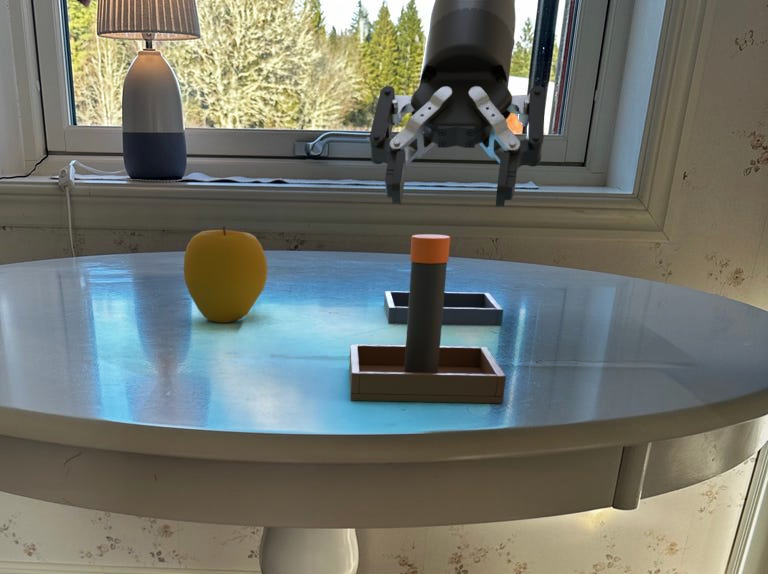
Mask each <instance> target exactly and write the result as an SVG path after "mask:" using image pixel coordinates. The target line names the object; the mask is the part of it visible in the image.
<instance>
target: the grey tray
mask: <svg viewBox="0 0 768 574" xmlns="http://www.w3.org/2000/svg"><path fill="white" fill-rule="evenodd" d="M408 306H409V291H402V290H401V291H399V290H398V291H396V290H392V291H390V290H385V291H384V298H383V307H384V312H385V316H386V320H387V324H388V325H407V321H408ZM503 317H504V309H503V307H502V306H501V305H500V304H499V302H498V301H497V300H496V299H495V298H494V297H493V295H491V293H489V292H467V291H466V292H461V291H460V292H459V291H458V292H457V291H444V304H443V316H442V326H488V327H489V326H491V327H492V326H497V327H499V326H500V327H501V326H502V325H503Z"/></svg>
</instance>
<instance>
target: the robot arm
mask: <svg viewBox="0 0 768 574" xmlns="http://www.w3.org/2000/svg"><path fill="white" fill-rule="evenodd" d="M516 17H517V16H516V0H434V2H433V5H432V7H431V11H430V14H429V20H428V26H427V32H426V38H425V45H424V51H423V57H422V58H423V59H422V65H421V71H420V78H419V84H418V86H417V88H416V89H415V91H414V92H413V93H412V95H405V94H404V95H403V94H395V93H396V92H395V88H394V87H393V86H392V85H386V86H383V87H381V89H380V92H379V96H378V100H377V104H376V108H375V113H374V118H373V121H372V125H371V129H370V133H369V147H370V159H371V162H372V163H373V164H374V165H381V164H383V163H385V164H386V171H385V177H384V186H385V195H386V198H391V201H392V202H391V204H392V205H402V201H403V195H404V188H405V184H406V183H405V182H406V176H407V166H408V165H409V164H410V163H411V162H412V161H413V160H415V159H416V158H422V157H423V156H424V155H425V154H426V153H427V152H428V151H429V150H430V149H432V148H433V147H434V145H437V148H439V149H440V148H441V149H442V148H443V149H444V148H445V149H447V148H451V147H460V148H465V149H467V148H468V149H475V148H476V145H480V147H481V148H482V149H483V150H484V152H485V153H486V154H487V156H488V157H489V158H490V159H495V160H496V161H497V163H498V164H499V169H498V176H497V177H498V178H497V186H496V196H495V207H498V208H499V207H500V208H504V207H505V204H506V203H505V202H506V201H512V199H513V198H514V196H515V192H516V191H515V190H516V183H517V182H516V181H517V173H518V170H519V168H520V167H522V166H524V165H527V166H529V167H537V166H539V165H540V164H541V161H542V150H543V149H542V148H543V144H544V134H545V133H544V132H545V103H546V101H545V100H546V90H545V87H543V86H541V85H535V86H532V87H531V89H530V90H529V94H517V95H512V93H511V91H510V89H509V81H510V73H511V66H512V65H511V64H512V56H513V51H514V47H515V43H516V42H515V32H516V21H517V19H516ZM407 114H411V116H410V117H409V119H408V120H407V122H406V125H405V127H404V128H403V129H402V130H400V131H399V132H398V133H397V134H396V135H395V136H394V137H393V138H392V137H391V136H392V132H393V128H394V127H397V126H399V124H400V123H399V122H401V121H402V120H403V117H404V116H405V115H407ZM511 114H514V115H516V117H517V120H518V121H519V122H520V124H521V126H522V127H526V138H525V139H522V140H519V138H518V137H517V136H516V134H514V132H512V130H511V129H510V127H509V125H508V121H507V119H508V118H509V117H510V116H511Z"/></svg>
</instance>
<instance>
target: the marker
mask: <svg viewBox="0 0 768 574" xmlns="http://www.w3.org/2000/svg"><path fill="white" fill-rule="evenodd" d="M450 246H451V236H449V235H446V234H435V233H434V234H433V233H432V234H431V233H430V234H429V233H426V234H413V235H412V236H411V242H410V254H409V255H410V257H409V261H410V277H409V291H408V292H409V306H408V321H407V324H406V337H405V345H406V352H405V367H404V373H438V364H439V352H440V346H441V340H442V339H441V338H442V329H443V328H442V327H443V325H442V316H443V304H444V292H446V291H445V290H446V279H447V268H448V267H447V265H448V262H449V259H450Z"/></svg>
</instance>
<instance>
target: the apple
mask: <svg viewBox="0 0 768 574" xmlns="http://www.w3.org/2000/svg"><path fill="white" fill-rule="evenodd" d="M183 258H184V259H183V276H184V277H183V278H184V279H183V280H184V283H185V285H186V288H187V290H188V293H189V295H190V297H191V299H192V301H193V303H194V304H195V306H196V308H197V309H198V312H200V313H201V315H202V316H203V318H205V319H207V320H208V321H211V322H215V323H223V324H224V323H225V324H226V323H232V322H236V321H239V320H242V319H243V318H244V317H245V316H247V315H248V314H249V312H250V311H251V309H252V308H253V306H254V305H255V303H256V301H258V298H259V297H260V295H261V294H262V293H263V291H264V288H265V286H266V282H267V279H268V262H267V261H268V260H267V256H266V254H265V252H264V248H263V246H262V244H261V243H260V241H259V240H258V239H257V237H256V236H255V235H253V234H251V233H250V232H245V231H237V230H230V229H229V230H228V229H226V226H222V229H211V230H202V231H200V232H199V233H198V232H197V234H195V235H194V236H192V237H191V239H190V241H189V242H188V244H187V246H186V249H185V252H184V257H183Z"/></svg>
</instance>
